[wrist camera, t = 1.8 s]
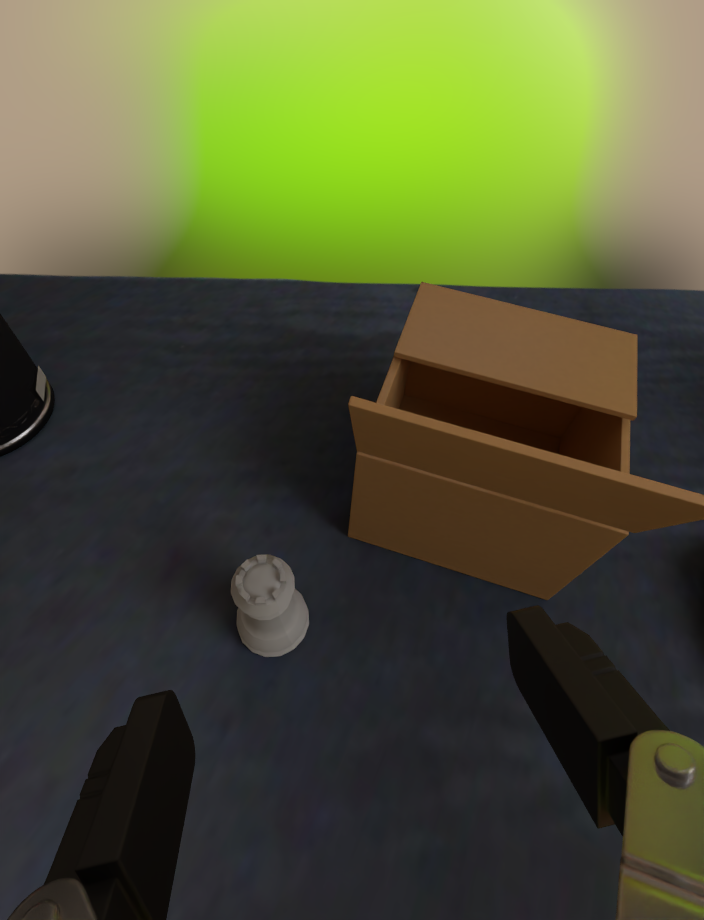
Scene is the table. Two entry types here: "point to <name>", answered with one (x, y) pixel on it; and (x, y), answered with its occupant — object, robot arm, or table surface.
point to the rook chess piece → (268, 606)
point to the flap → (520, 470)
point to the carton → (505, 416)
